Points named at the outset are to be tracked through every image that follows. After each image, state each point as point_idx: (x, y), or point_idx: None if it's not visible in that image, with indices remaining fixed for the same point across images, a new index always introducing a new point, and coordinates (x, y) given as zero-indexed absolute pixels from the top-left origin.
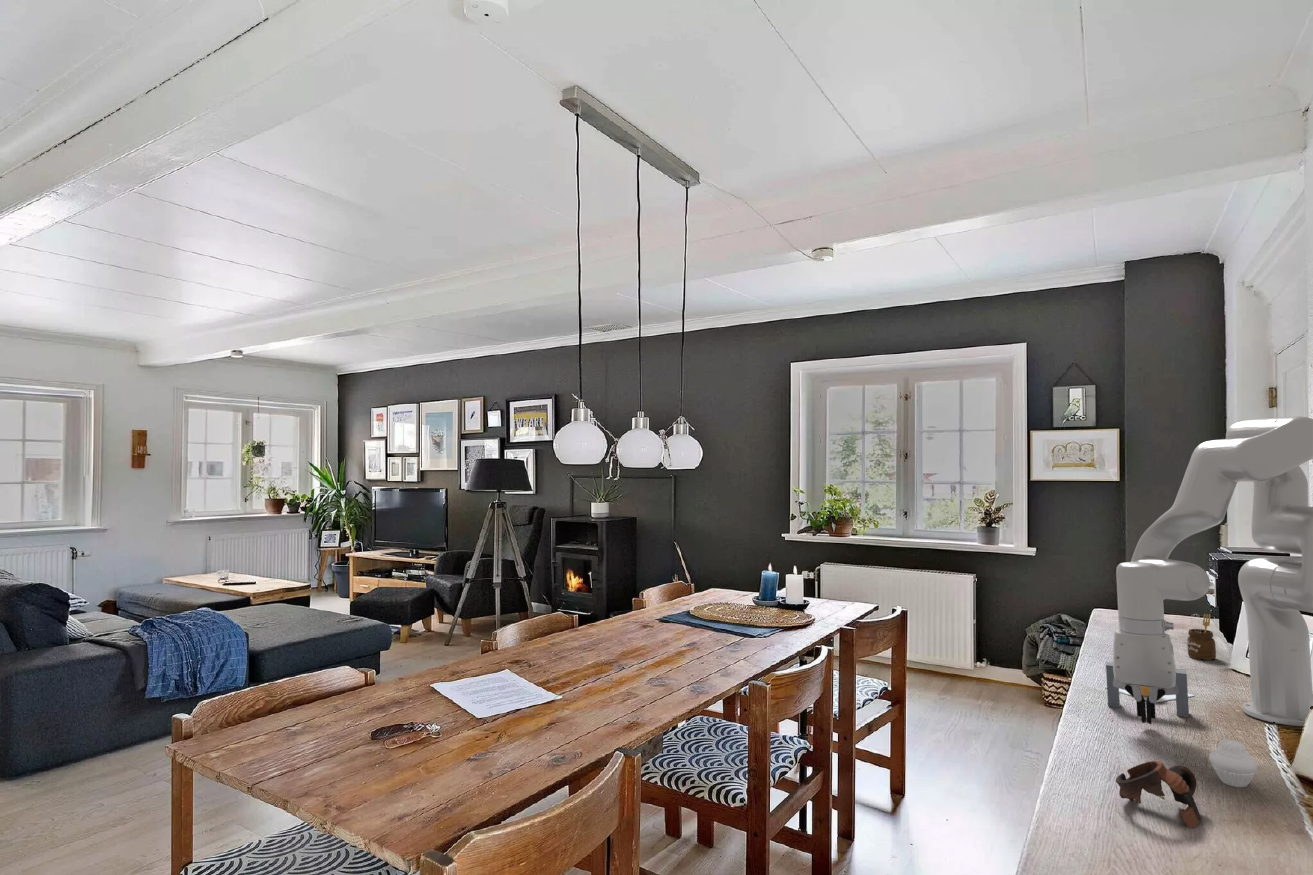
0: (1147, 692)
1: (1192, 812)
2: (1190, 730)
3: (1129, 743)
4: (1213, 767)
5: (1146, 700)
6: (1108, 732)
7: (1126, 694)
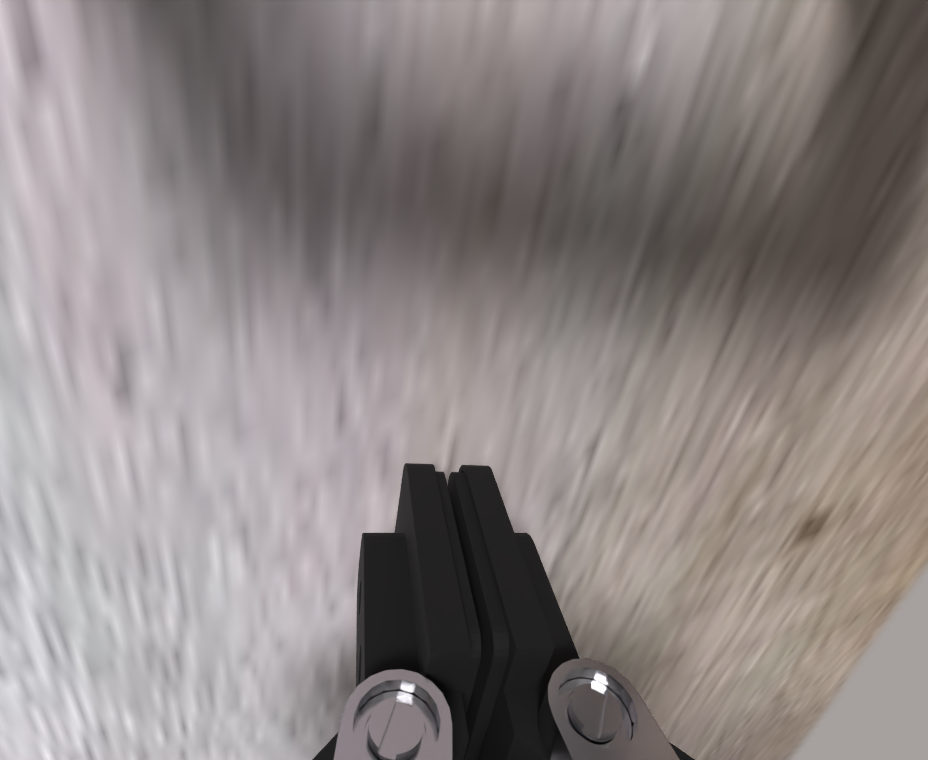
0: None
1: None
2: (744, 372)
3: (295, 747)
4: None
5: (487, 695)
6: (149, 654)
7: None
